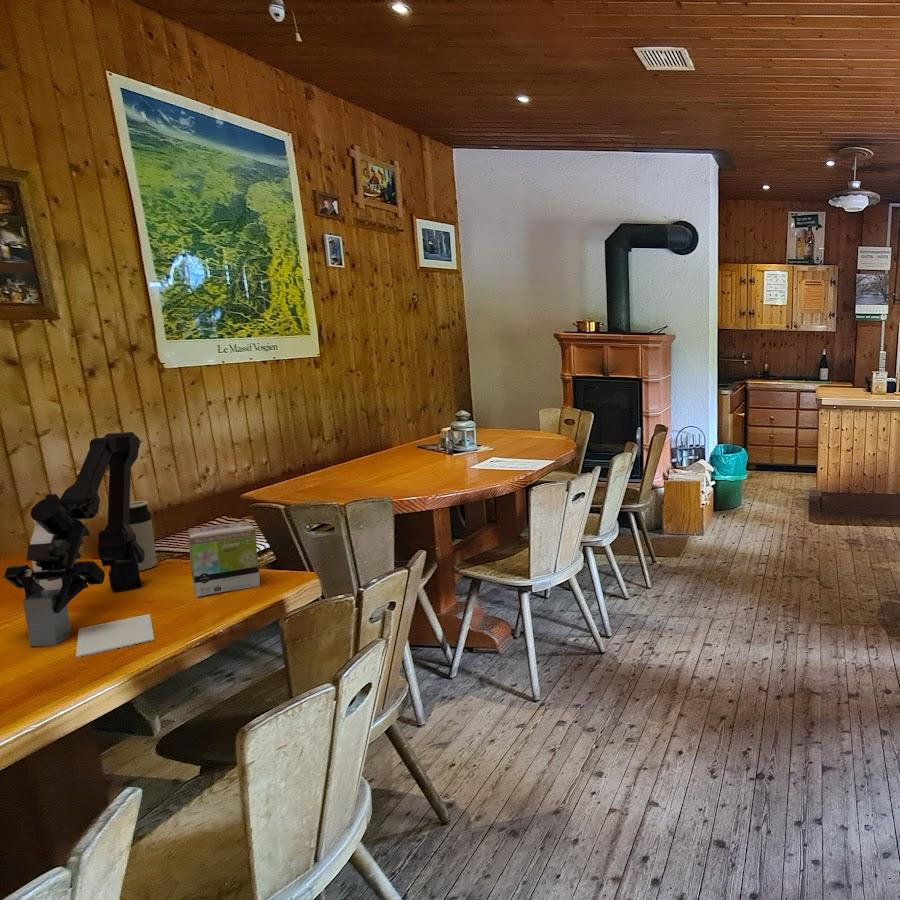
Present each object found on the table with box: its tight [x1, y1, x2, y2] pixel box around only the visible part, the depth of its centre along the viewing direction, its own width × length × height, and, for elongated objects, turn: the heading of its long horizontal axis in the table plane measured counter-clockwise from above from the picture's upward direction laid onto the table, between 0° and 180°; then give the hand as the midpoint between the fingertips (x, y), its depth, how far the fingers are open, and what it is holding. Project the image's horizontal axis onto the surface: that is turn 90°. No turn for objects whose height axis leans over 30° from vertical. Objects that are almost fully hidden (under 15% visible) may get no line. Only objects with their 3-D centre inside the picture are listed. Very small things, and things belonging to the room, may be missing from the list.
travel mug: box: [129, 500, 158, 571], centre depth 191 cm, size 8×8×18 cm
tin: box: [22, 589, 72, 647], centre depth 144 cm, size 5×5×10 cm
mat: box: [75, 613, 155, 659], centre depth 145 cm, size 14×16×1 cm
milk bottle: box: [29, 518, 62, 590], centre depth 179 cm, size 8×8×20 cm
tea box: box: [187, 520, 261, 598], centre depth 171 cm, size 15×10×15 cm
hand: (42, 613), depth 142 cm, fingers closed on tin, 5 cm apart
